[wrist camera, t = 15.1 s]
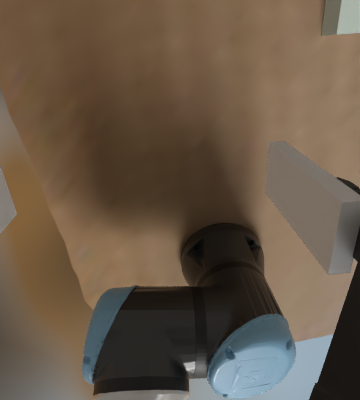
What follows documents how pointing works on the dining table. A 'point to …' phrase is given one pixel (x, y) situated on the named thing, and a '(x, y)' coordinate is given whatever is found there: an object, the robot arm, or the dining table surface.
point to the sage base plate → (341, 17)
